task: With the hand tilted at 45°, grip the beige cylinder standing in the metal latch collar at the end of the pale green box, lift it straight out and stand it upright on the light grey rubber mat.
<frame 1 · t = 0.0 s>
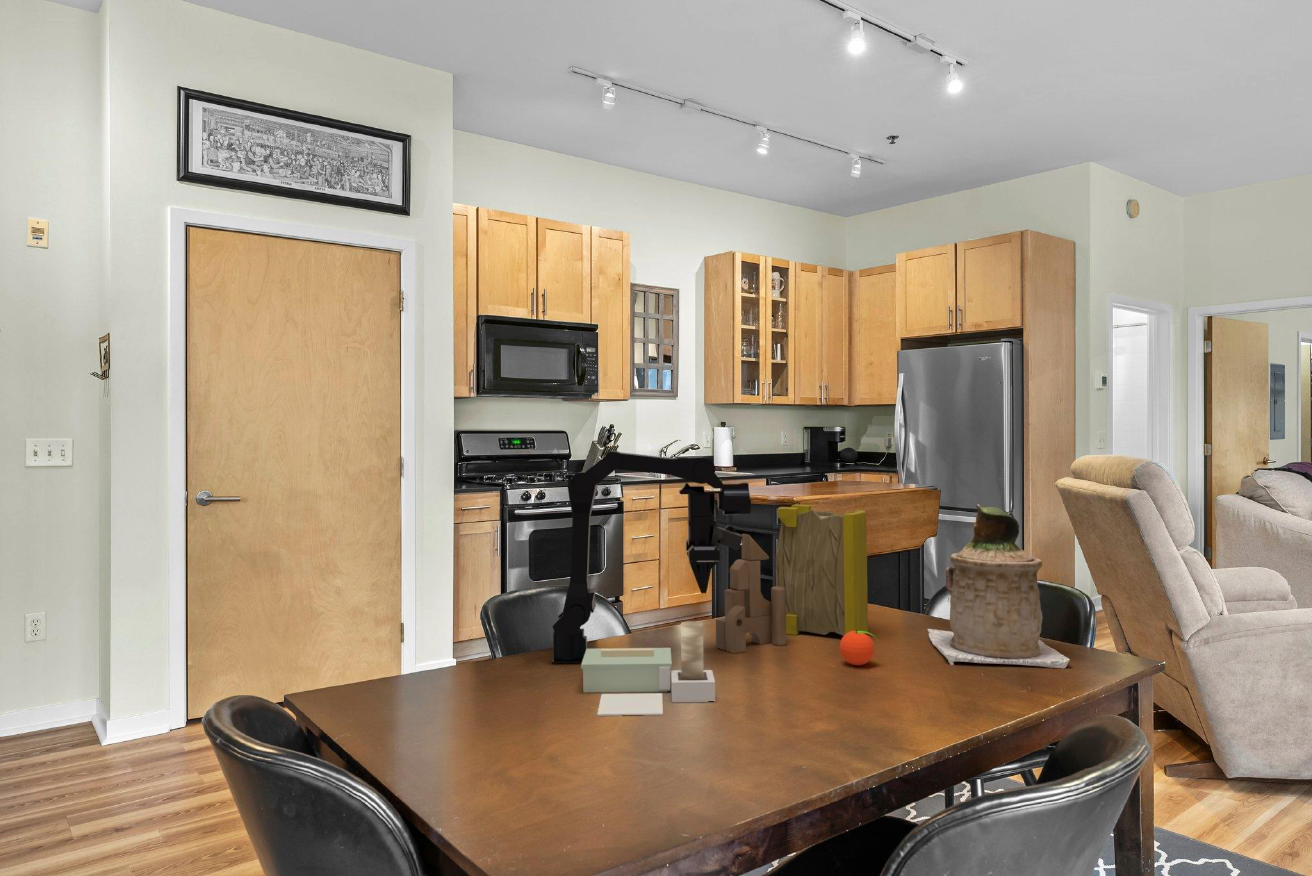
hand: (702, 589, 173), 15 cm above the table, tool pointing down, fingers open, 9 cm apart
cookie jar: (993, 653, 176), on the table
clementine: (859, 666, 167), on the table
pale green box: (627, 683, 156), on the table
mat: (631, 705, 143), on the table
wooden toy: (752, 647, 183), on the table
decorative book: (822, 633, 195), on the table
beige cylinder: (692, 695, 148), resting in pale green box
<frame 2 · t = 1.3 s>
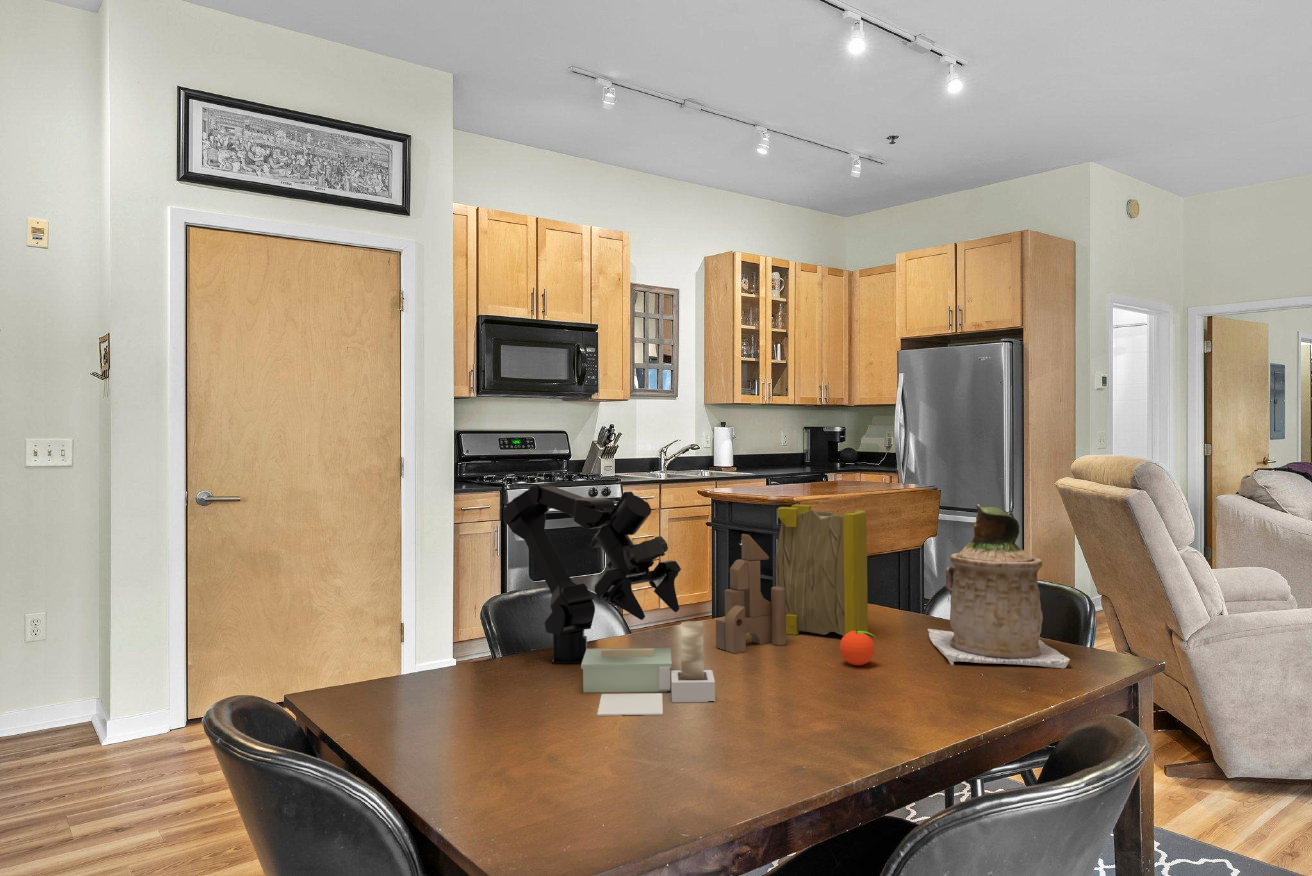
hand: (660, 614, 154), 13 cm above the table, tool tilted 45°, fingers open, 9 cm apart
nothing on the table moved.
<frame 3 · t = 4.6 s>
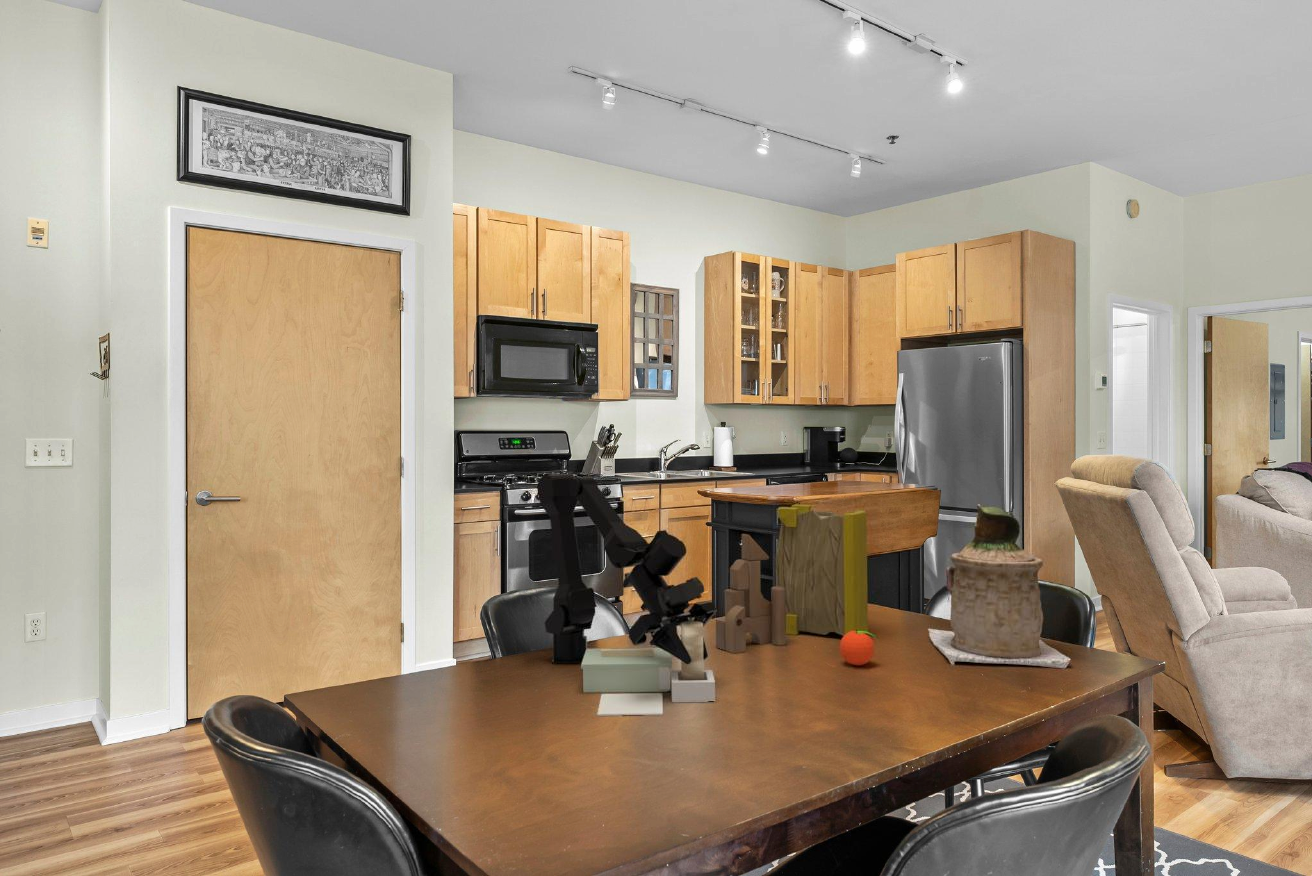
hand: (698, 660, 147), 7 cm above the table, tool tilted 45°, fingers closed on beige cylinder, 4 cm apart
beige cylinder: (692, 695, 148), resting in pale green box, touching gripper
everything else where it was.
when the fingers open (8 cm above the table, at t = 8.9 s): beige cylinder drops 1 cm, resting on mat.
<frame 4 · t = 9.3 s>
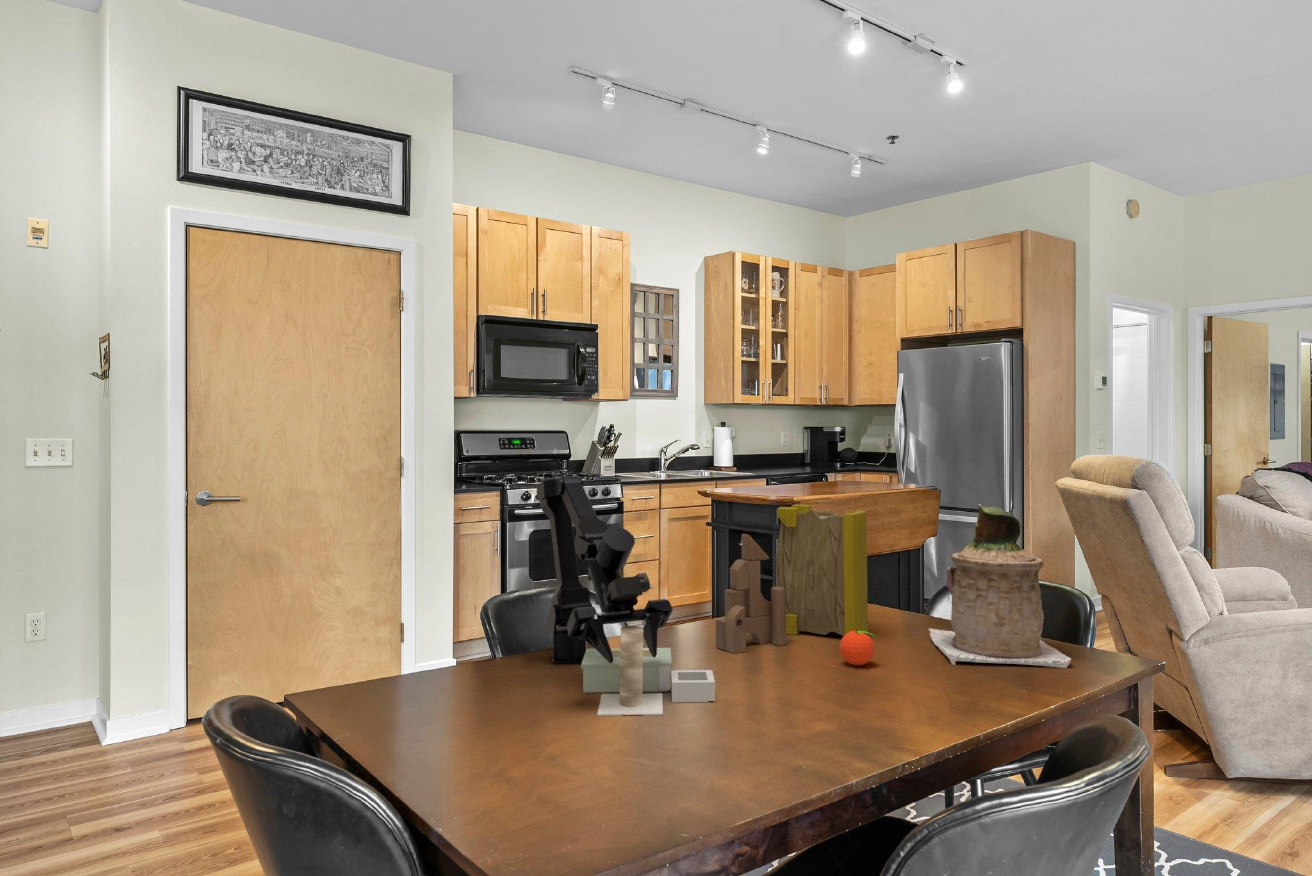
hand: (633, 659, 142), 8 cm above the table, tool tilted 45°, fingers open, 8 cm apart
beige cylinder: (630, 702, 143), resting on mat
everything else where it was.
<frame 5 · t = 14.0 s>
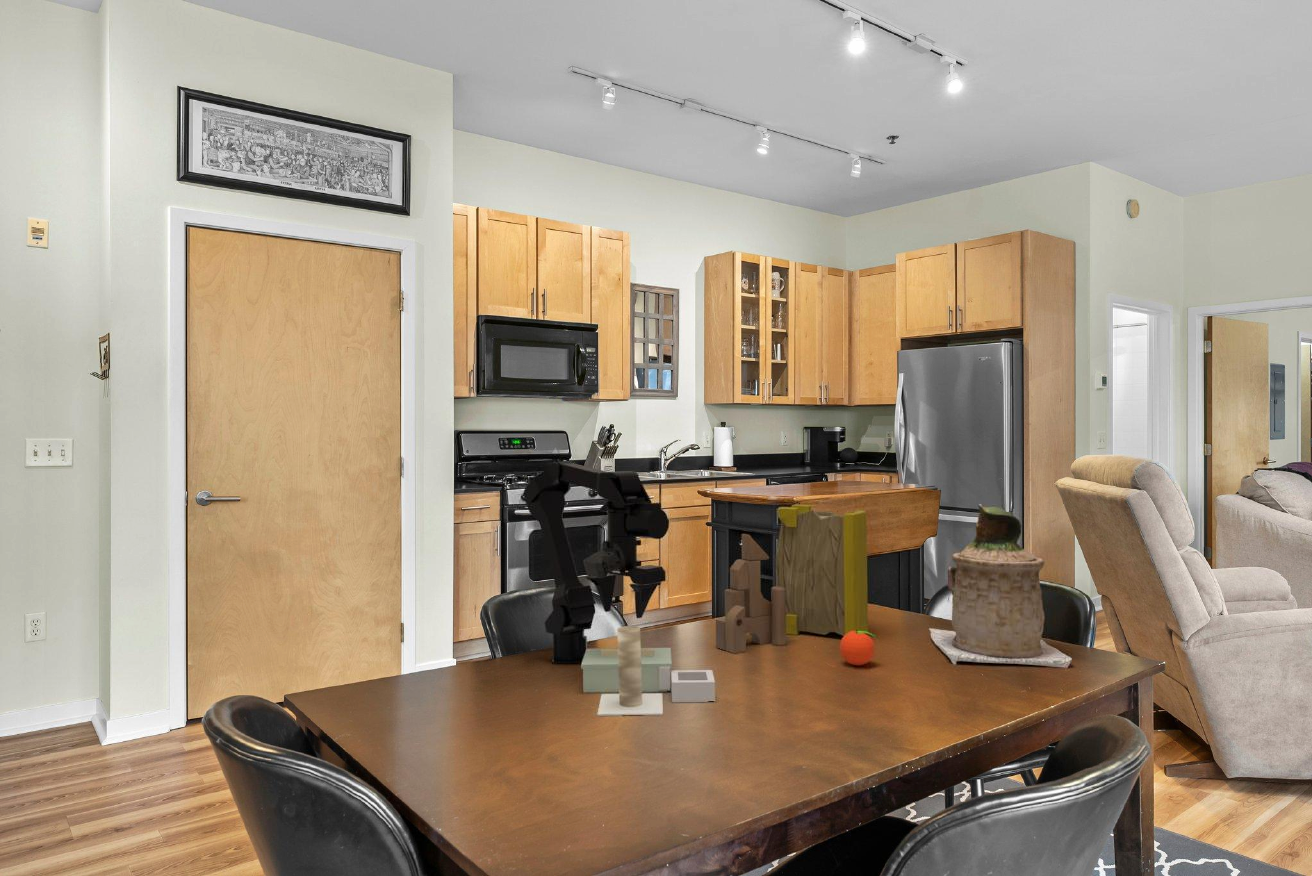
hand: (622, 614, 161), 12 cm above the table, tool pointing down, fingers open, 9 cm apart
nothing on the table moved.
at the end: beige cylinder 0.0 cm from the target spot, resting on mat; beige cylinder tilted 1°; the gripper is holding nothing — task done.
